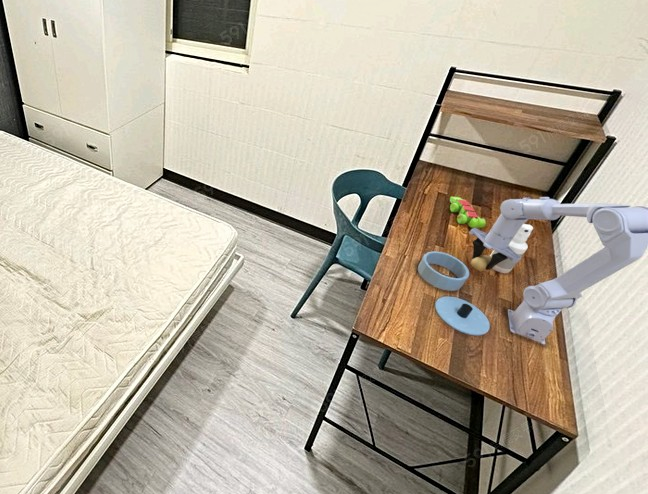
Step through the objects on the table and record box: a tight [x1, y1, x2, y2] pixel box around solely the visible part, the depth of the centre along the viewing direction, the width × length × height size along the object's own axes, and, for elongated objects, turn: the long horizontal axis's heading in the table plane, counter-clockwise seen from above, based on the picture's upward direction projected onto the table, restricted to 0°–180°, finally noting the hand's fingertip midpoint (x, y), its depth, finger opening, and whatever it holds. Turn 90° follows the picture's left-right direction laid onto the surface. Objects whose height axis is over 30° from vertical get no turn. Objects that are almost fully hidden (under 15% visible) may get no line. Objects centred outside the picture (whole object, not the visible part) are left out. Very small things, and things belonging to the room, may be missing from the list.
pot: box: [417, 250, 470, 292], centre depth 133 cm, size 13×13×6 cm
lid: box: [434, 296, 491, 337], centre depth 120 cm, size 14×14×4 cm
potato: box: [470, 254, 492, 272], centre depth 132 cm, size 7×4×4 cm, turn 110°
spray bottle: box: [489, 223, 534, 274], centre depth 134 cm, size 7×7×18 cm
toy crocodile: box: [449, 196, 487, 229], centre depth 159 cm, size 20×7×6 cm, turn 168°
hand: (481, 263), depth 133 cm, fingers closed on potato, 4 cm apart
